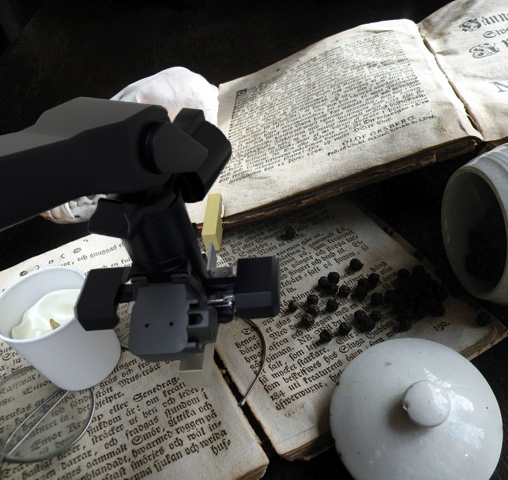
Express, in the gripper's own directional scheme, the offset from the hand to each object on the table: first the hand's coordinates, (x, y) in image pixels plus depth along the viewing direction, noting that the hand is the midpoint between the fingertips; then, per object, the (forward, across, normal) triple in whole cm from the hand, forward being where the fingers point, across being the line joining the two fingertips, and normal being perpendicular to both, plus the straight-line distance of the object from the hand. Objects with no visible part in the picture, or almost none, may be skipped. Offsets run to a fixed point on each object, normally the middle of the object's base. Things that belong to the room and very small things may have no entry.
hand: (202, 339), depth 51 cm
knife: (+1, 0, +4) cm, 4 cm away
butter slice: (+6, -2, +24) cm, 25 cm away
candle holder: (+7, -16, +2) cm, 17 cm away
